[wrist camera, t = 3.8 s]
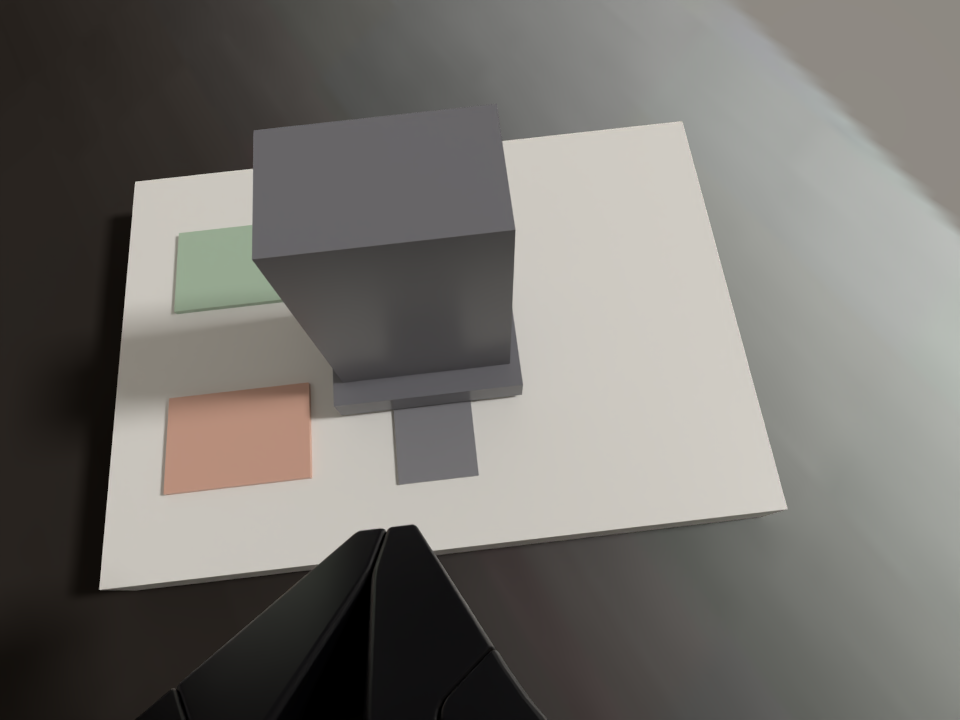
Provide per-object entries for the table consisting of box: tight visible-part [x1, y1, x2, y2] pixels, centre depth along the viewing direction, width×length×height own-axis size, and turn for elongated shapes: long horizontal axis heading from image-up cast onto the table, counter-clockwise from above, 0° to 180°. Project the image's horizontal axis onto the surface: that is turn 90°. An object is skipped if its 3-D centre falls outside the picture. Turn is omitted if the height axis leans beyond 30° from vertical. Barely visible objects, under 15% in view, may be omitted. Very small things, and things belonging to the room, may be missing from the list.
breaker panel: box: [99, 121, 787, 590], centre depth 22 cm, size 14×20×2 cm
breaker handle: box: [252, 104, 523, 415], centre depth 17 cm, size 4×6×8 cm
